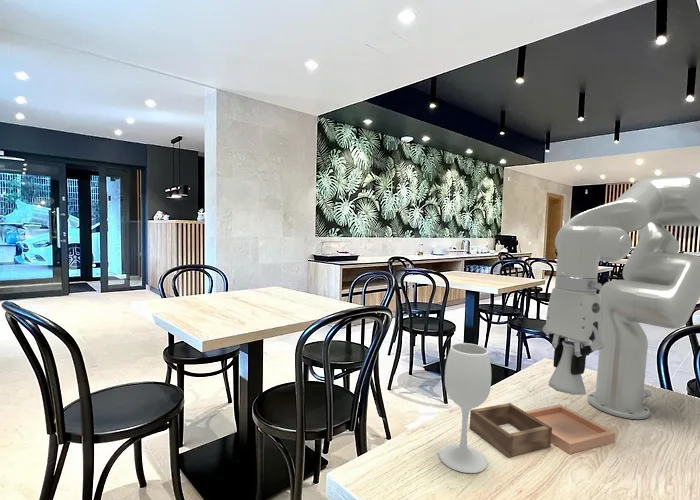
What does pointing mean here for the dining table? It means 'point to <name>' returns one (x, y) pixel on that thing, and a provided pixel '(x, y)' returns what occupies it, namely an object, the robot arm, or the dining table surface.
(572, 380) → the flask
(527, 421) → the frame
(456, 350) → the wineglass
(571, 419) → the terracotta tray
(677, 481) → the dining table surface
